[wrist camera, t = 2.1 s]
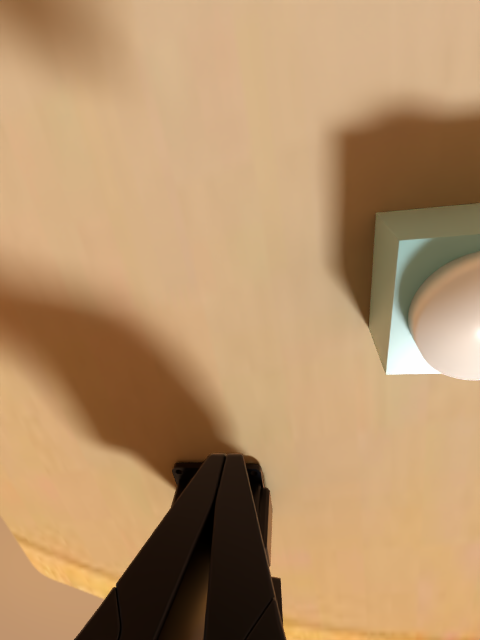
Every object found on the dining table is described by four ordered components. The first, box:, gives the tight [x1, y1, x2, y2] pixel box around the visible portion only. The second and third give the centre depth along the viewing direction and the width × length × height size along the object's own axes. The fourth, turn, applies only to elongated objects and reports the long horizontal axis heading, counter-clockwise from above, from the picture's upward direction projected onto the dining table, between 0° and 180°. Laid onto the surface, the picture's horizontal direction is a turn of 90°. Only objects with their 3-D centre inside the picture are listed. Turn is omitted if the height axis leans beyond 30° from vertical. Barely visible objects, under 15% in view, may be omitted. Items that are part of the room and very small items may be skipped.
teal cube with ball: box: [369, 203, 480, 380], centre depth 15 cm, size 6×6×5 cm
